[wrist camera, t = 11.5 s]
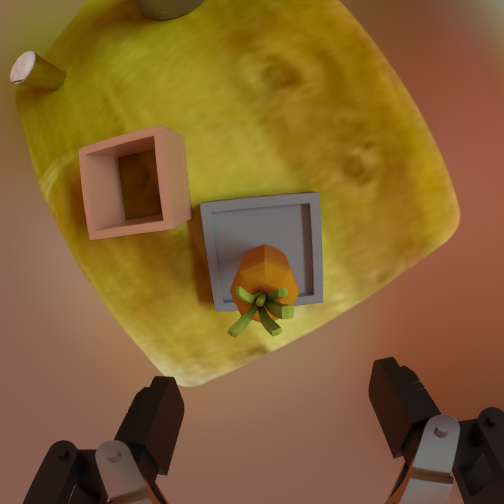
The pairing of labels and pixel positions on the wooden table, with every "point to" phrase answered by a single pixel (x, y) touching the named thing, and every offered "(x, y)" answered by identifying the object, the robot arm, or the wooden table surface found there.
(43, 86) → the milkshake
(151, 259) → the wooden table surface
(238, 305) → the carrot
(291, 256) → the tray
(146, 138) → the box
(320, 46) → the wooden table surface
